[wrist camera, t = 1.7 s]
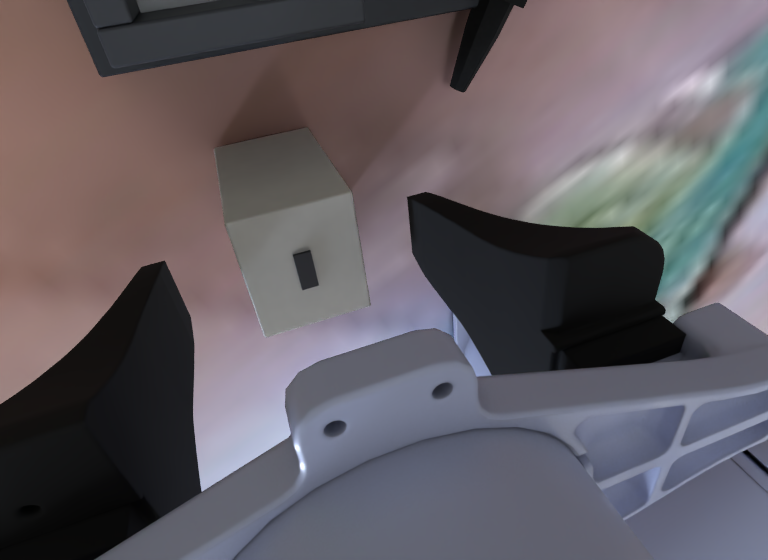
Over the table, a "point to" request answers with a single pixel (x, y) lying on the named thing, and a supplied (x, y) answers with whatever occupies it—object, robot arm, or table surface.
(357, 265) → the block
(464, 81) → the microphone
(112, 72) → the adapter
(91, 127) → the table surface
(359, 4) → the socket
